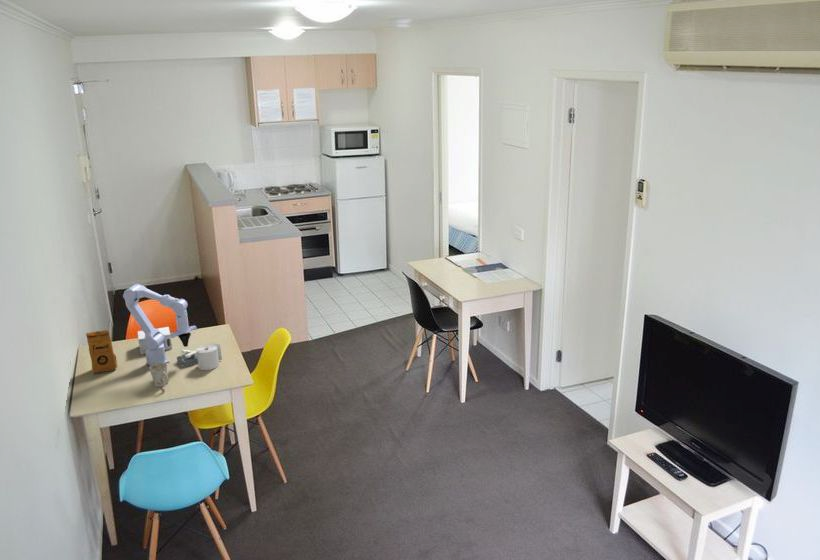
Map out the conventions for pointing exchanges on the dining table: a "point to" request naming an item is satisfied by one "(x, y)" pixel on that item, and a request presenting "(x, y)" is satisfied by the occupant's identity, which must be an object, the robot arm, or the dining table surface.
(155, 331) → the robot arm
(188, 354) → the rocker
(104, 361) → the coffee package
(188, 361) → the switch housing
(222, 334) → the dining table surface
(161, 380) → the mug
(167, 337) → the supplement box
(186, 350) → the rocker
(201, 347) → the toilet tissue
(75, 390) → the dining table surface
